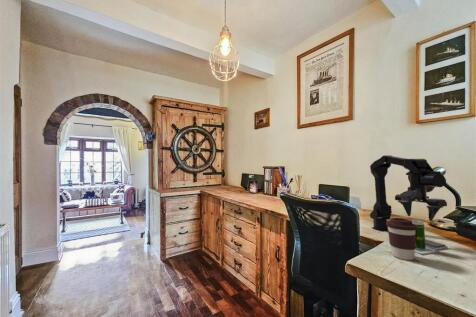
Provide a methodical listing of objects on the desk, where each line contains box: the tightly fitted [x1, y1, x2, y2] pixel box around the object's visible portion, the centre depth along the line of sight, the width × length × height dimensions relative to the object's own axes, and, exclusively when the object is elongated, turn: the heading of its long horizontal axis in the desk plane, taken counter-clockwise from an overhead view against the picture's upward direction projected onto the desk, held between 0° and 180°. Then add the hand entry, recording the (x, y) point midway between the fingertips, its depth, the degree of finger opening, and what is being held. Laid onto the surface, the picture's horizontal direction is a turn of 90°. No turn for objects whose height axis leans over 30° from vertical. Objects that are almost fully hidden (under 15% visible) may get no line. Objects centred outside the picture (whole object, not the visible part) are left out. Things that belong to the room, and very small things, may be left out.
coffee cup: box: [386, 217, 417, 261], centre depth 83 cm, size 10×10×15 cm
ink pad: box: [425, 238, 449, 251], centre depth 94 cm, size 10×8×2 cm
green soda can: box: [410, 219, 426, 250], centre depth 91 cm, size 5×5×12 cm
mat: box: [415, 247, 440, 256], centre depth 90 cm, size 10×10×1 cm
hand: (419, 218), depth 95 cm, fingers open, 9 cm apart
